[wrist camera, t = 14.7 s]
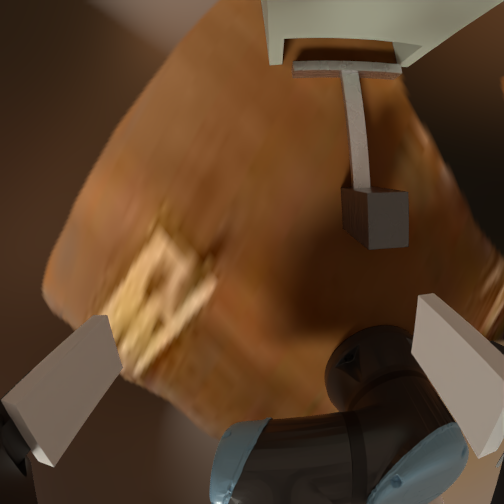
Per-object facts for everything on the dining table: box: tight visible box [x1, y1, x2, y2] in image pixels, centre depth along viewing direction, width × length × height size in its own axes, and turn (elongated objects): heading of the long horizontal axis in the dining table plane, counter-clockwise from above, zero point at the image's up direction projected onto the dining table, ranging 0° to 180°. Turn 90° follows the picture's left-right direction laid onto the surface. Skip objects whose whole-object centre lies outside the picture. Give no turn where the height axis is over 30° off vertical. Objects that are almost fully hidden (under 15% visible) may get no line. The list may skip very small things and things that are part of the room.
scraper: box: [292, 61, 409, 250], centre depth 30 cm, size 20×13×11 cm, turn 5°
